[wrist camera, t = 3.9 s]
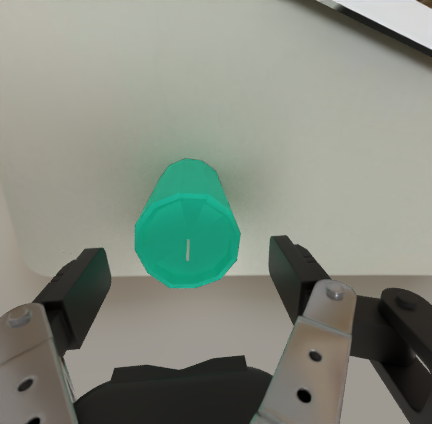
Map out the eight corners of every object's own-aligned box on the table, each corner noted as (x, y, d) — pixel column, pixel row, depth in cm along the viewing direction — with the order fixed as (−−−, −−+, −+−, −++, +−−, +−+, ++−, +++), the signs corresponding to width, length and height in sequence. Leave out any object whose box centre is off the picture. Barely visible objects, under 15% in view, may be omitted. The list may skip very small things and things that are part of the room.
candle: (207, 227, 25) (218, 318, 14) (149, 206, 23) (110, 290, 12) (231, 173, 23) (268, 227, 12) (170, 147, 21) (146, 182, 10)
